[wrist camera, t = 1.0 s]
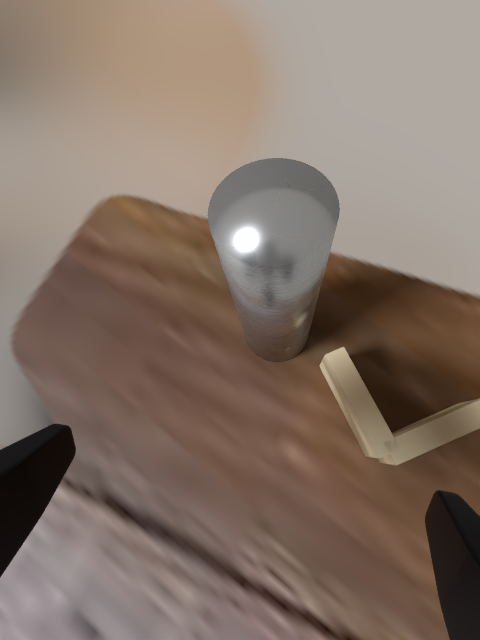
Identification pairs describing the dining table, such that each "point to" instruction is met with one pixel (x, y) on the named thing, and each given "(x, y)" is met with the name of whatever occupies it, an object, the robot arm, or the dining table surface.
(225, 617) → the dining table surface
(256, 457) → the dining table surface
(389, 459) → the v block
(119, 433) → the dining table surface
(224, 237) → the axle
